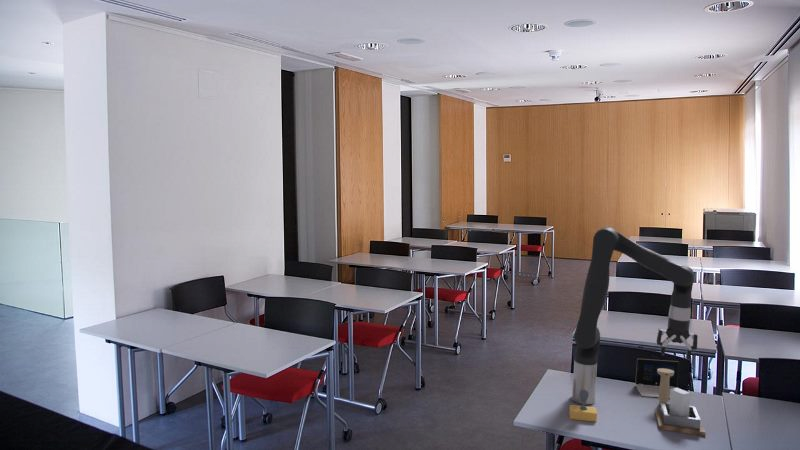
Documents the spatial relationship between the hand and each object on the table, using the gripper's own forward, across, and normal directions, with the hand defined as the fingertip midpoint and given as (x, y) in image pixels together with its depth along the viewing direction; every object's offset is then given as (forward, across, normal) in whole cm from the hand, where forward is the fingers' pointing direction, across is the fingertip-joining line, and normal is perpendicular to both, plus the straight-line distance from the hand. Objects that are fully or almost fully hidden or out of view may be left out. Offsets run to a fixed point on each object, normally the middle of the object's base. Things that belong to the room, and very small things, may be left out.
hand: (675, 357), depth 227 cm
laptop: (+26, -1, +27) cm, 38 cm away
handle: (+26, -1, +14) cm, 29 cm away
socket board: (+26, +3, -3) cm, 26 cm away
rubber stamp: (+27, -32, -11) cm, 43 cm away
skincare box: (+24, +3, -3) cm, 25 cm away
